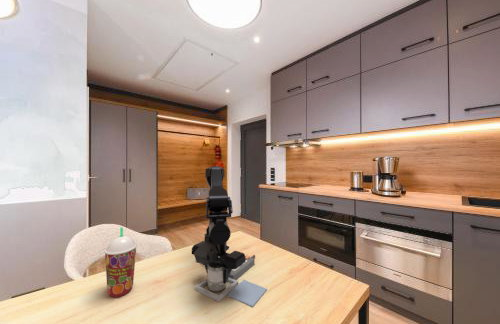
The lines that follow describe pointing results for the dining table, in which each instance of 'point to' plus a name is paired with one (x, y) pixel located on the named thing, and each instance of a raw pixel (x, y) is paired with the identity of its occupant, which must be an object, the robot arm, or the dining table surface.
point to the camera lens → (215, 275)
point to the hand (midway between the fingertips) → (217, 279)
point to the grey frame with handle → (232, 279)
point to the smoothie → (120, 265)
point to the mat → (247, 293)
